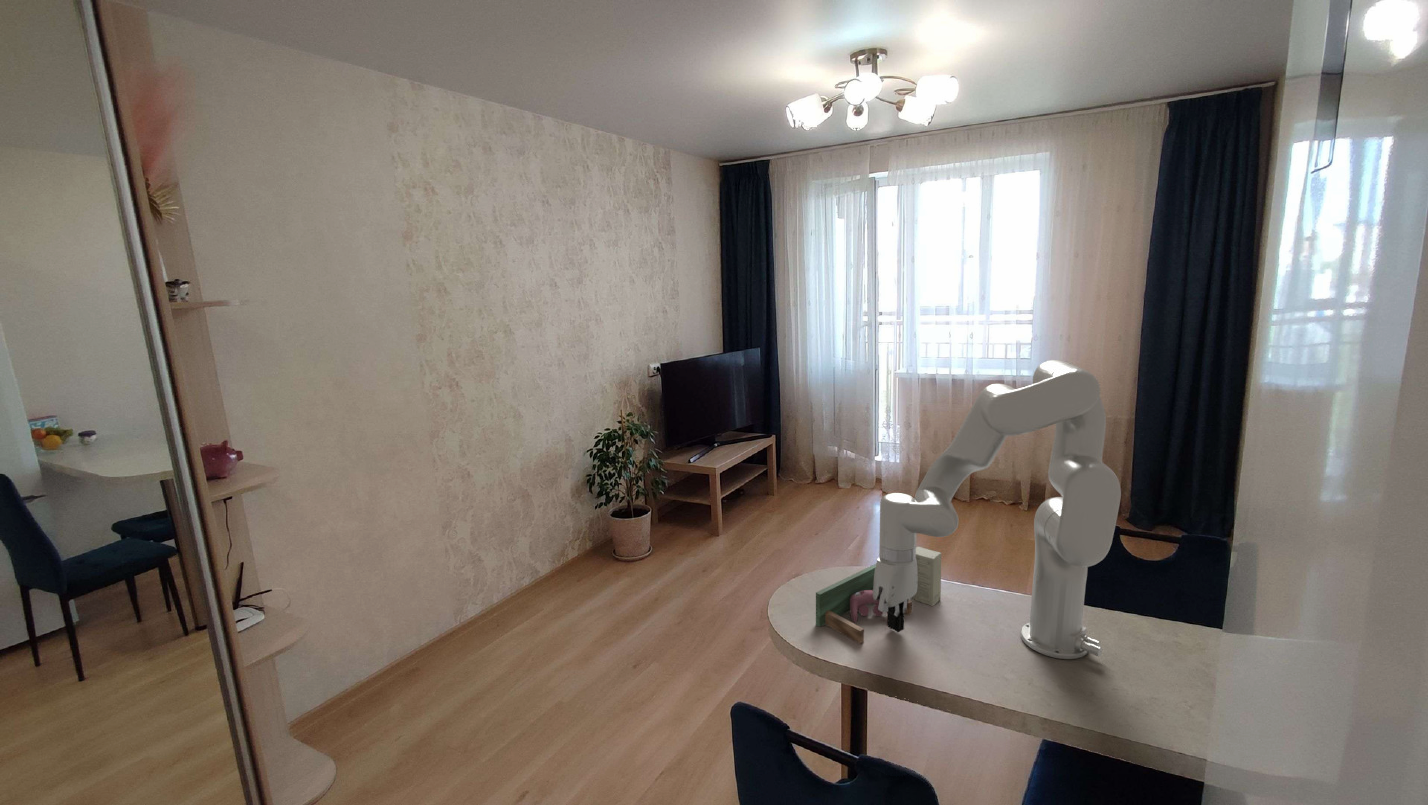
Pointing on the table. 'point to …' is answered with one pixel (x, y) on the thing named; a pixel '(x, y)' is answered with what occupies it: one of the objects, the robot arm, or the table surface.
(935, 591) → the skincare box
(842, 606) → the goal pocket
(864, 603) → the video game controller
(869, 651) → the table surface
